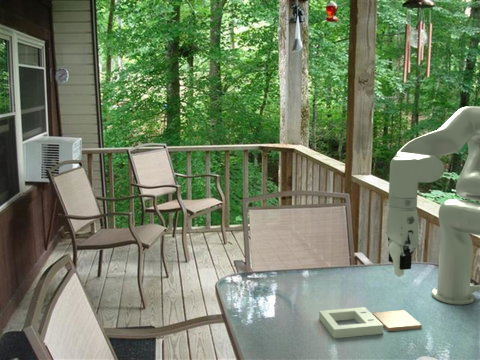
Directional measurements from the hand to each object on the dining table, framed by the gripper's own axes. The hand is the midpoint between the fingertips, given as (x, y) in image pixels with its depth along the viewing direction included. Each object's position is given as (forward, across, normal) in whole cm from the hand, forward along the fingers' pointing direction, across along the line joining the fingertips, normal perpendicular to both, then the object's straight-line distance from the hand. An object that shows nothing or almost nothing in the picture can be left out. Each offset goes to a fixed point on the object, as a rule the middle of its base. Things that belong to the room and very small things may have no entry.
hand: (399, 264), depth 146 cm
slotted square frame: (+17, 0, +14) cm, 22 cm away
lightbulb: (+4, 0, 0) cm, 4 cm away
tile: (+17, 0, 0) cm, 17 cm away
